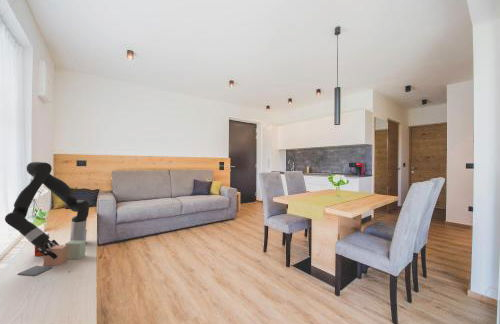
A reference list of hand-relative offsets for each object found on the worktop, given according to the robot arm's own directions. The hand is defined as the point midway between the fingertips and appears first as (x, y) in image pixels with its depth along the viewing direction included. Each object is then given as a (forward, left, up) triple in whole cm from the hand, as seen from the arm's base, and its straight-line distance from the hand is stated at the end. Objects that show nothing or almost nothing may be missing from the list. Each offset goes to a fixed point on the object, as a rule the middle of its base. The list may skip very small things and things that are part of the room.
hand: (58, 255), depth 138 cm
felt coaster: (+12, -3, -4) cm, 13 cm away
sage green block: (-9, +2, -4) cm, 11 cm away
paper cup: (-9, -22, -5) cm, 24 cm away
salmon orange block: (+1, -2, -4) cm, 5 cm away
